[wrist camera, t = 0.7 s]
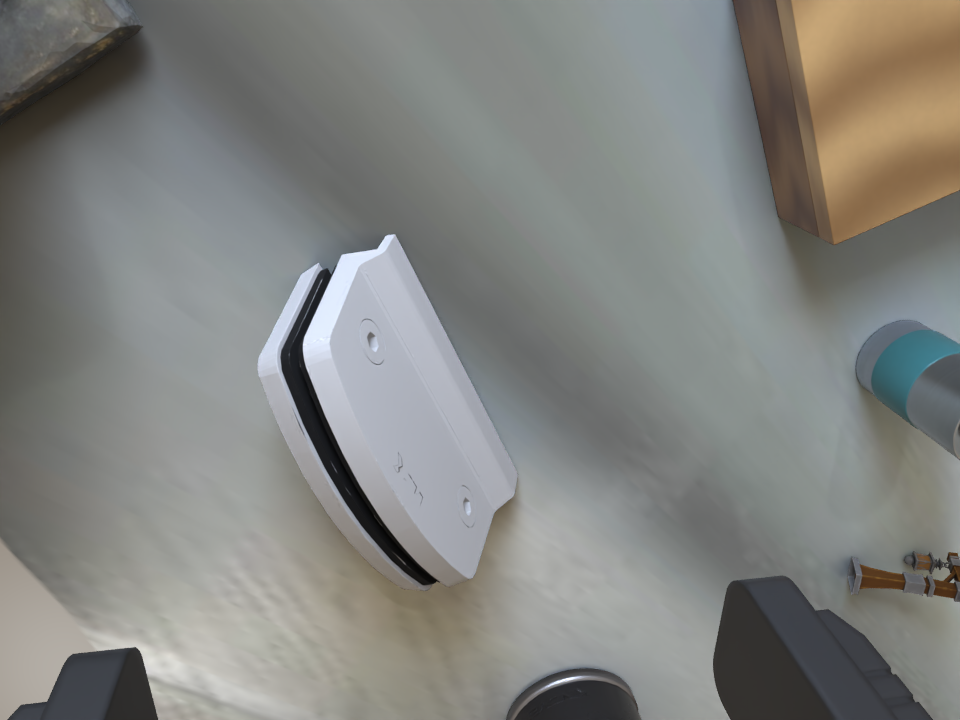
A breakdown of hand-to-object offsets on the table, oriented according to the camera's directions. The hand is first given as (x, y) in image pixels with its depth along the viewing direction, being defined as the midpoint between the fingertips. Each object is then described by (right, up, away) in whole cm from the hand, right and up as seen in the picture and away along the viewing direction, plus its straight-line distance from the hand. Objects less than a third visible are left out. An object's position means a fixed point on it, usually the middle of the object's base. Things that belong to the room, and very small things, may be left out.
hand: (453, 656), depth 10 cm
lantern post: (+29, -9, +41) cm, 51 cm away
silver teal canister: (+25, +4, +34) cm, 42 cm away
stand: (+19, +19, +25) cm, 37 cm away
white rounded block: (-4, +2, +30) cm, 30 cm away
